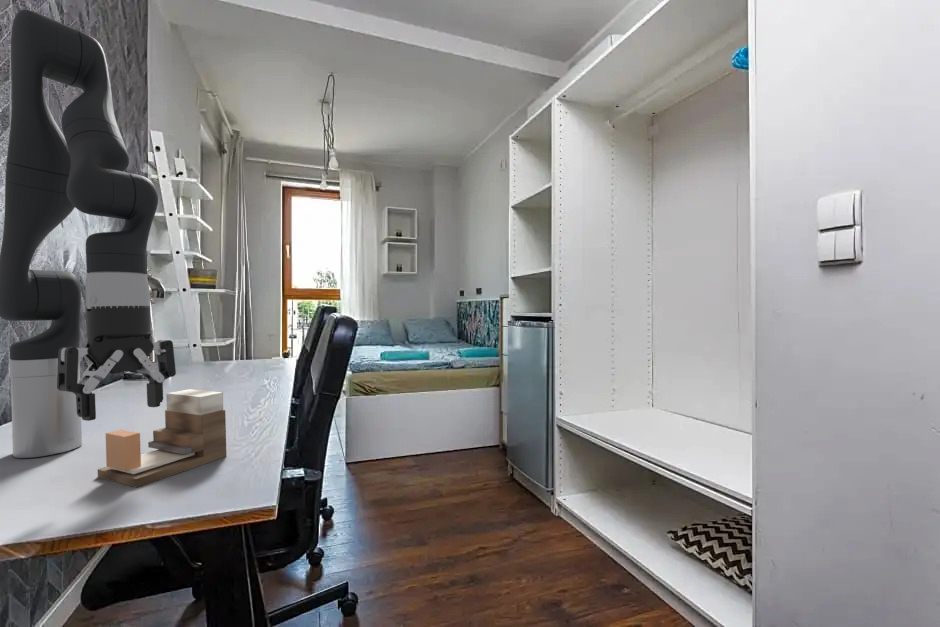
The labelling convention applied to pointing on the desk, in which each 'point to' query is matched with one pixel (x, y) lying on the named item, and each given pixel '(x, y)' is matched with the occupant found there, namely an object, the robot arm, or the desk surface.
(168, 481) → the desk surface
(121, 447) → the plank with orange cube
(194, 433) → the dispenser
